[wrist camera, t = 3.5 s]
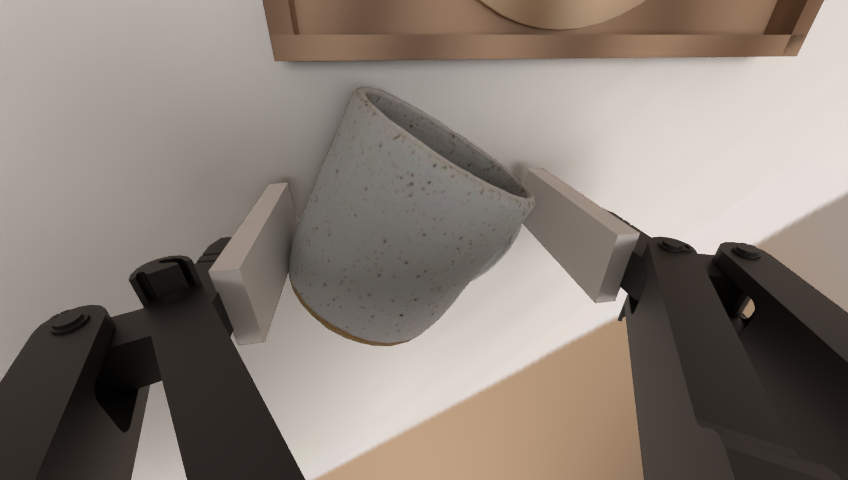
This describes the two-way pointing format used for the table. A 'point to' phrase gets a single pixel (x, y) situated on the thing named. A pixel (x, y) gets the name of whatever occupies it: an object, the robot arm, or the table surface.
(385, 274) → the ceramic mug
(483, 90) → the table surface
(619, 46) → the tray
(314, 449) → the table surface
